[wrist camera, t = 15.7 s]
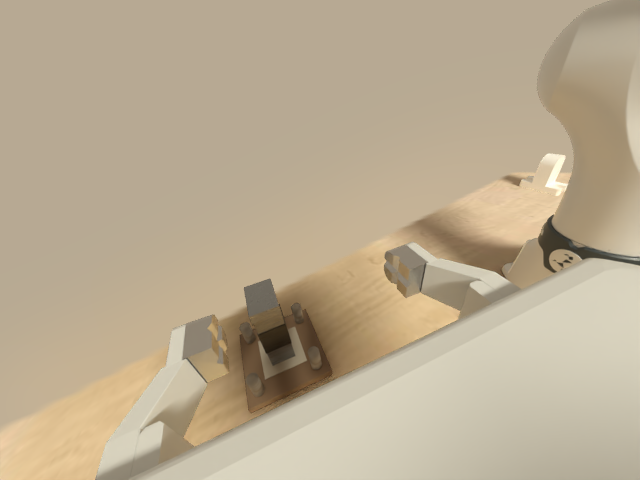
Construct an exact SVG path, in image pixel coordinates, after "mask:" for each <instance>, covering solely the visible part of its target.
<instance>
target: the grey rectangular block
mask: <svg viewBox="0 0 640 480" xmlns="http://www.w3.org/2000/svg"><path fill="white" fill-rule="evenodd" d="M244 291H245V297H246V303H247V309H248V315H249V319H250V321H251V323H252V325H254V326H255V329H256V331H257V335H258V337H259V340H260V342H261V344H262V346H263V348H264V350H265V353H266V354H267V355H268V357H269V359H270V361H271V364H272V366H274V365H276V364H278V363H280V362H283V361H285V360H287V359H290V358H292V357H294V356H295V353H294V350H293V346H292V342H291V338H290V335H289V332H288V329H287V326H286V323H285V320H284V317H283V314H282V311H281V307H280V304H278V301H277V298H276V295H275V292H274V288H273V285H272V282H271V279H267V280H264V281H262V282H259V283H256V284H253V285H250V286H247V287H244Z"/></svg>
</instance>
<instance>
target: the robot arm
mask: <svg viewBox="0 0 640 480" xmlns="http://www.w3.org/2000/svg"><path fill="white" fill-rule="evenodd" d="M537 90H538V95H539V98H540V100H541V103H542V104H543V106H544V107H545V108H546V110H547V111H549V112H550V113H551V114H552V115H554V116H555V117H556V118H557V119H558V120H559V121H560V122H561V124H562V125H563V126H564V128H565V129H566V131H567V133H568V135H569V137H570V140H571V143H572V147H573V154H574V163H573V169H572V174H571V177H570V180H569V182H568V185H567V188H566V190H565V193H564V195H563V198H562V200H561V202H560V204H559V206H558V208H557V210H556V212H555V214H554V215H552V216H551V217H550V218H549V219H548V220H547V222H546V223H545V224H544V225H543V227H542V229H541V233H540V235H539V237H538V238H534V239H532V240H528V241H527V242H526V243H525V244H524V246H523V248H522V249H521V251H520V253H519V254H518V256H517V258H516V259H515V261H514V262H512V263H508V264H505V265H504V266H503V267H502V272H503V274H504V276H505V277H506V279H505V278H504V277H502V276H501V275H499V274H498V273H496V272H494V271H490V270H486V269H482V268H478V267H474V266H470V265H466V264H462V263H458V262H454V261H450V260H446V259H442V258H439V259H437V258H436V257H434V256H433V255H431V254H430V253H429V252H427V251H426V250H425V249H423V248H422V247H421V246H419V245H418V244H417V243H415V242H410V243H408V244H405V245H403V246H400V247H397V248H395V249H392V250H389V251H387V252H386V253H385V259H386V260H387V262H386V263H385V265H384V271H385V274H386V276H387V278H388V280H389V281H390V282H391V283H394V284H397V289H398V290H399V291H400V292H401V293H402V294H403V296H404V297H405V298H407V297H409V296H412V295H414V294H417V293H420V292H421V293H422V294H424V295H427V296H429V297H431V298H433V299H435V300H438V301H440V302H442V303H444V304H446V305H449V306H451V307H453V308H455V309H457V310H460V314H459V316H458V320H457V321H455V322H453V323H451V324H448V325H446V326H444V327H442V328H440V329H438V330H436V331H434V332H432V333H430V334H428V335H426V336H424V337H422V338H419V339H417V340H415V341H413V342H411V343H409V344H407V345H405V346H403V347H401V348H399V349H397V350H395V351H393V352H390V353H388V354H386V355H384V356H382V357H380V358H378V359H376V360H374V361H372V362H370V363H368V364H366V365H364V366H362V367H359V368H357V369H355V370H353V371H351V372H349V373H347V374H345V375H343V376H341V377H339V378H337V379H335V380H333V381H331V382H328V383H326V384H324V385H322V386H320V387H318V388H316V389H314V390H312V391H310V392H308V393H306V394H304V395H302V396H300V397H297V398H295V399H293V400H291V401H289V402H287V403H285V404H283V405H281V406H279V407H277V408H275V409H273V410H271V411H269V412H266V413H264V414H262V415H260V416H258V417H256V418H254V419H252V420H250V421H248V422H246V423H244V424H242V425H240V426H238V427H235V428H233V429H231V430H229V431H227V432H225V433H223V434H221V435H219V436H217V437H215V438H213V439H211V440H209V441H207V442H204V443H202V444H200V445H198V446H196V447H194V446H193V445H192V444H190V443H189V442H188V441H187V440H185V439H184V438H183V437H184V435H185V433H186V431H187V429H188V426H189V424H190V422H191V420H192V418H193V415H194V413H195V411H196V409H197V407H198V404H199V402H200V400H201V398H202V396H203V393H204V391H205V389H206V387H207V383H209V382H211V381H213V380H215V379H218V378H220V377H222V376H224V375H226V374H228V373H229V362H228V357H227V355H226V353H225V352H226V350H227V348H228V347H227V339H226V335H225V332H224V330H223V328H222V327H221V326H218V320H217V318H216V317H215V315H210V316H207V317H204V318H201V319H198V320H196V321H192V322H190V323H187V324H184V325H181V326H179V327H176V328H174V329H173V330H172V332H171V337H170V343H169V349H168V355H167V361H166V367H163V368H161V369H160V371H159V372H158V374H157V375H156V376H155V378H154V379H153V380H152V382H151V383H150V384H149V386H148V387H147V388H146V390H145V391H144V393H143V394H142V395H141V397H140V398H139V399H138V401H137V402H136V403H135V405H134V406H133V407H132V409H131V410H130V411H129V413H128V414H127V416H126V417H125V418H124V420H123V421H122V422H121V424H120V425H119V426H118V428H117V429H116V430H115V432H114V433H113V434H112V436H111V437H110V439H109V440H108V441H107V443H106V445H105V448H104V452H103V455H102V458H101V462H100V465H99V468H98V472H97V475H96V478H95V480H640V0H610V1H607V2H605V3H602V4H599V5H597V6H594V7H591V8H588V9H586V10H585V11H584V12H583V13H581V14H580V15H579V16H578V17H577V18H576V19H574V20H573V21H572V22H571V23H570V24H569V25H568V26H567V27H566V28H565V29H564V30H563V31H562V33H561V34H560V35H559V36H558V37H557V38H556V40H555V41H554V43H553V44H552V45H551V47H550V48H549V50H548V52H547V53H546V55H545V58H544V59H543V62H542V64H541V67H540V70H539V74H538V79H537Z"/></svg>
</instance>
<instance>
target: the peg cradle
mask: <svg viewBox="0 0 640 480" xmlns="http://www.w3.org/2000/svg"><path fill="white" fill-rule="evenodd" d="M291 309H292V313H293V314H292V315H289V316H287V317H284V320H285V323H286V326H287V329H288V332H289V335H290V338H291V342H292V346H293V350H294V353H295V356H294V357H292V358H290V359H287V360H285V361H283V362H280V363H278V364H276V365H274V366H272V364H271V361H270V359H269V357H268V355H267V354H266V353H265V350H264V348H263V346H262V344H261V342H260V340H259V337H258V335H257V331H256V329H254V330H252V329H251V327H250V324H249V323H247V322H245V323H243V324H241V325H240V328H239V329H240V331H241V333H242V334H241V335H240V343H241V351H242V360H243V368H244V377H245V385H246V394H247V402H248V410H249V411H250V413H252V412H254V411H257V410H259V409H261V408H263V407H265V406H267V405H269V404H271V403H273V402H275V401H278V400H280V399H282V398H284V397H286V396H288V395H290V394H292V393H294V392H297V391H299V390H301V389H303V388H305V387H307V386H309V385H311V384H313V383H315V382H318V381H320V380H322V379H324V378H326V377H328V376H330V375H332V370H331V368H330V365H329V363H328V361H327V358H326V356H325V354H324V351H323V349H322V347H321V344H320V342H319V340H318V337H317V335H316V333H315V330H314V328H313V326H312V323H311V321H310V319H309V316H308V314H307V312H306V309H305V310H301V306H300V304H299V303H294V304H293V305H292V306H291Z"/></svg>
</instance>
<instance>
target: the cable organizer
mask: <svg viewBox="0 0 640 480" xmlns="http://www.w3.org/2000/svg"><path fill="white" fill-rule="evenodd" d="M564 160H565V156H563V155H557V154H550V153H548V154H546V156H544V158H543V159H542V160H541V162H540V164H539V166H538V169H537V171H536V174H535V176H528V177H527V178H526V179H522V180H521V182H520V184H519V186H520V187H523V188H527V189H531V190H535V191H539V192H543V193H547V194H551V195H555V196H558V195H560V193H561V192H565V190H566V188H567V185H568V184H564V183H560V182H555V180H556V178H557V175H558V173H559V171H560V169H561V166H562V165H563V163H564Z"/></svg>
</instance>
